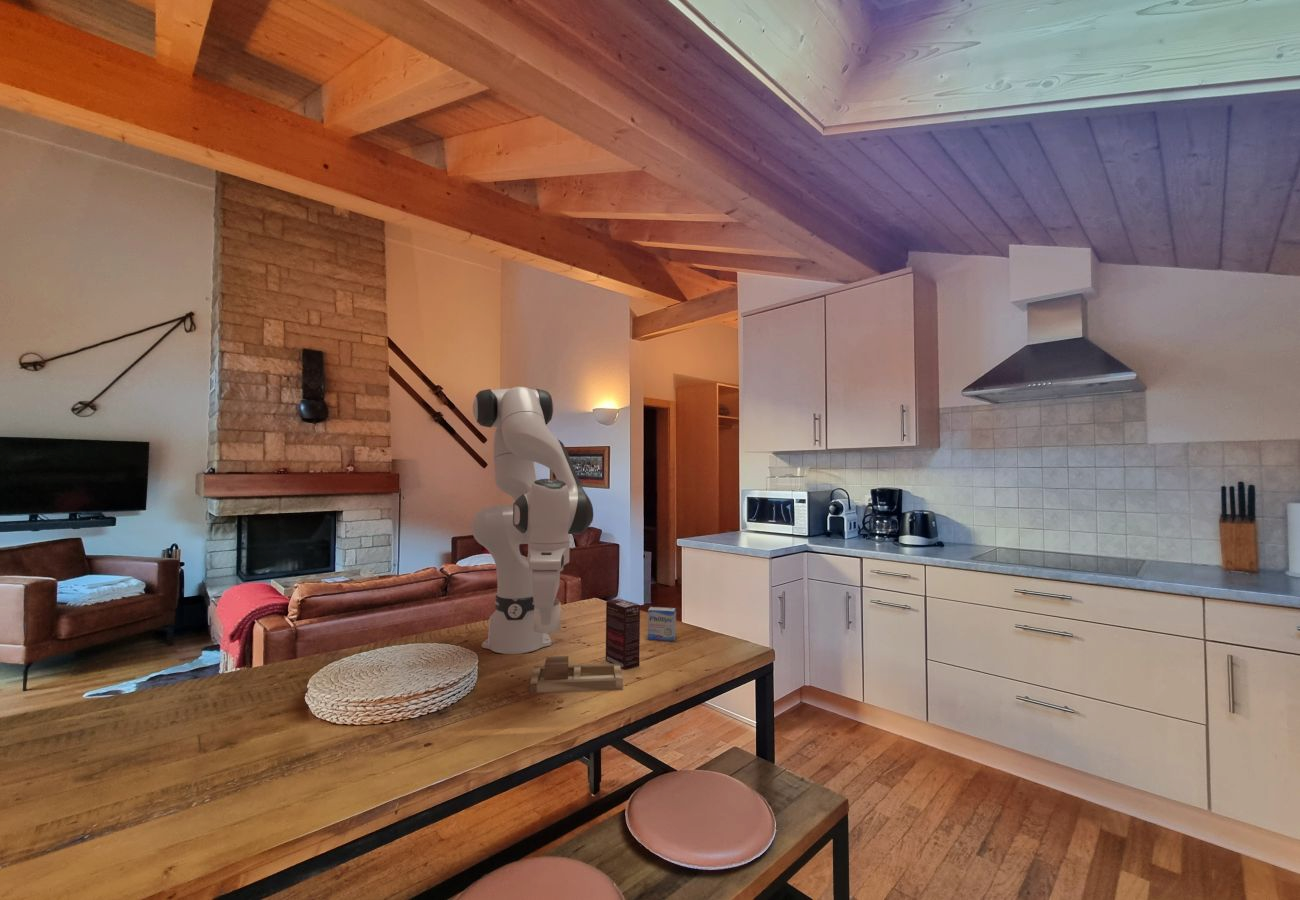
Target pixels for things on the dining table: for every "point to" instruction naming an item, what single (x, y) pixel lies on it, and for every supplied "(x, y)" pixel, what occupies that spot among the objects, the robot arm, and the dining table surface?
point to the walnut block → (556, 668)
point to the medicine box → (661, 624)
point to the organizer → (579, 679)
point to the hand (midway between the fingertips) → (547, 619)
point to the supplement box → (622, 633)
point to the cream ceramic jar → (554, 622)
